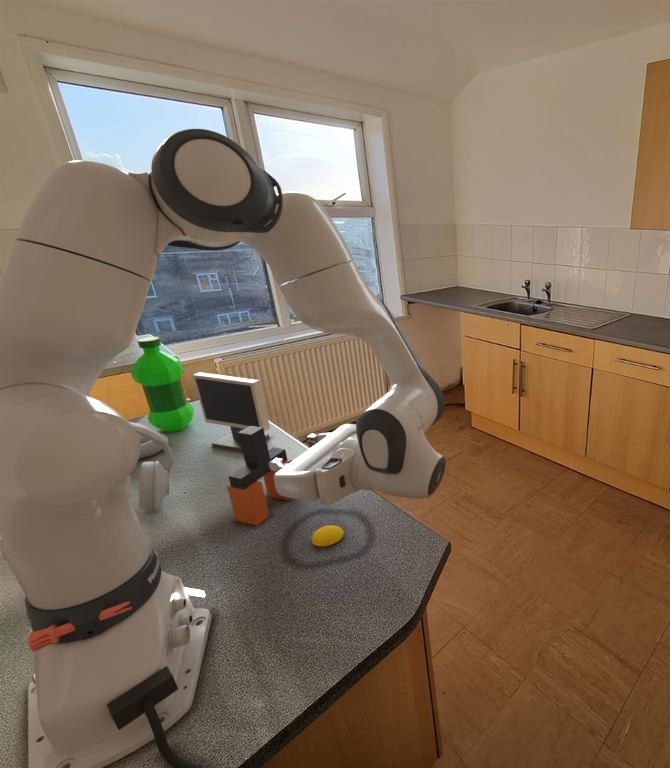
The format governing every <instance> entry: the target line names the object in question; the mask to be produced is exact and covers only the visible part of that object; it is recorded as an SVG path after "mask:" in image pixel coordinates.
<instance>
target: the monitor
mask: <svg viewBox="0 0 670 768" xmlns="http://www.w3.org/2000/svg"><path fill="white" fill-rule="evenodd" d="M192 379H193V382H194V386H195V389H196V393H197V396H198V397H197V398H198V401H199V405H200V407H201V411H202V414H203V418H204V422H205V423H207V424H215V425H219V426H226V427H229V428H230V431H231V432H229V433H227V434H225V435H224V436H222V437H220V438H219V439H217V440H215V441H213V442H211V447H212V448H214V449H220V450H225V451H231V452H236V453H242V454H243V451H242V447H241V443H240V439H239V435H238V432H240V431H242V430H244V429H245V428H247V427H249V426H256V427H262V428H264V433H265V432H266V431H268V430H270V429H271V427H270V422H269V418H268V413H267V408H266V403H265V399H264V395H263V389H262V385H261V381H260V379H254V378H245V377H239V376H230V375H225V374H224V375H223V374H218V373H217V374H216V373H209V372H203V371H202V372H201V371H198V372H196V373H194V374H192ZM265 437H266V441H267V440H269V439H271V438H270V434H269V433H265Z"/></svg>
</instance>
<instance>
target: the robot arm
mask: <svg viewBox="0 0 670 768" xmlns="http://www.w3.org/2000/svg"><path fill="white" fill-rule="evenodd" d="M151 159H152V160H151V165H150V166H151V170H150V171H151V172H148V171H146V172H142V173H135V172H126V171H124V170H122V169H120V168H117V167H114V166H112V165H109V164H105V163H102V162H97V161H92V160H71V161H66V162H64V163H62V164H60V165H58V166H57V167H56V168H55V169H54V170H53V171H52V173H51V174H50V175H49V177H47V178H46V180H45V182H44V183H43V184H42V185H41V187H40V189H39V190H38V192H37V193H36V195H35V197H34V198H33V200H32V202H30V203H31V204H30V205H29V207H28V209H27V211H26V212H25V215H24V217H23V219H22V221H21V223H20V226H19V228H18V231H17V233H16V236H15V238H14V241H13V243H12V247H11V249H10V252H9V254H8V258H7V260H6V263H5V265H4V269H3V271H2V273H1V276H0V536H1V537H0V538H1V539H0V551H1V553H2V555H3V556H4V558H5V561H6V562H7V564H8V566H9V568H10V570H11V572H12V574H13V575H14V577H15V579H16V581H17V582H18V584H19V586H20V588H21V590H22V592H23V593H24V595H25V597H24V605H25V606H24V607H25V610H26V611H25V613H26V618H27V622H28V625H29V626H30V627H31V629H30V630H29V631H28V634H29V635H28V638H27V639H28V647H29V650H30V651H31V652H32V654H33V655H32V656H33V668H34V673H33V674H32V675H33V676H32V678H31V679H32V680H31V681H30V682H29V684H28V685H27V744H28V745H27V768H105V767H107V766H109V765H111V764H113V763H116V762H117V761H119V760H121V759H122V758H124V757H126V756H128V755H130V754H131V753H133V752H135V751H137V750H138V749H140V748H142V747H144V746H146V745H147V744H148V743H150V742H151V741H153V740H154V741H155V744H156V747H157V750H158V752H159V753H160V755H161V757H162V758H163V759H164V760H165V761H166V763H168V765H169V766H171V767H172V768H202V767H201V766H198V765H195V764H193V763H191V762H189V761H186V760H184V759H182V758H181V757H179V756H178V755H177V754H176V753H175V752H174V750H173V749H172V748H171V747H170V745H169V743H168V740H167V736H166V734H165V732H166V731H168V730H169V729H170V728H171V727H172V726H174V725H175V724H176V723H177V722H178V721H179V720H181V718H182V717H184V716H185V715H186V713H188V712H189V710H190V709H191V708H192V705H193V702H194V698H195V693H196V690H197V685H198V681H199V677H200V674H201V673H200V672H201V667H202V663H203V658H204V654H205V649H206V646H207V641H208V637H209V633H210V629H211V625H212V624H211V623H212V620H213V615H212V613H211V611H210V609H208V608H202V607H194V605H193V603H192V601H191V599H190V596H193V597H200V598H205V597H206V593H205V590H201V589H197V588H191V587H185V584H184V583H183V581H182V579H181V577H179V576H177V575H174V574H170V573H168V572H166V571H163V570H162V569H163V568H162V566H161V562H160V557H159V555H158V553H157V551H156V550H155V549H154V547H153V545H152V544H151V543H150V542H148V541H147V539H146V537H145V534H144V531H143V529H142V526H141V523H140V521H139V517H138V515H137V512H136V510H135V507H134V504H133V503H134V502H133V499H132V489H131V474H132V473H133V471H134V470H135V468H136V466H137V464H138V462H139V456H140V449H141V448H140V440H139V436H138V434H137V432H136V430H135V429H134V428H133V426H132V425H131V424H130V423H129V422H130V421H128V420H127V419H126V418H125V417H124V416H123V415H121V414H120V413H119V412H118V411H117V410H115V409H114V408H113V407H112V406H110V405H109V404H108V403H105V402H104V401H101V400H100V399H97V398H94V397H91V396H89V395H90V393H91V390H92V389H93V387H94V385H95V384H96V382H97V380H98V379H99V378H100V376H101V375H102V373H103V372H104V371H105V369H106V367H107V366H108V365H109V364H110V363H111V361H112V360H113V359H114V358H115V357H116V356H118V355H120V354H121V353H123V352H125V350H127V349H128V347H129V346H130V345H131V344H132V342H133V340H134V337H135V334H136V331H137V328H138V325H139V322H140V319H141V315H142V312H143V309H144V306H145V303H146V300H147V296H148V293H149V291H150V287H151V284H152V281H153V278H154V275H155V272H156V268H157V266H158V262H159V259H160V257H161V255H162V253H163V251H164V250H165V248H166V247H167V246H168V247H176V248H184V249H185V248H186V249H193V250H195V249H196V250H199V251H221V250H222V251H223V250H227V249H231V248H233V247H235V246H237V245H239V244H240V243H243V244H244V245H246V246H248V247H250V248H251V249H252V250H254V251H255V252H256V253H257V254H259V256H260V257H261V258H262V259H263V261H264V262H265V263H266V264H267V265H268V266H269V269H270V271H271V273H272V276H273V278H274V279H275V281H276V284H277V286H278V287H279V290H280V292H281V294H282V296H283V297H284V300H285V301H286V303H287V305H288V306H289V308H290V310H291V311H292V313H293V314H294V315H295V316H296V317H297V319H298V320H299V321H300V322H301V323H302V324H304V325H305V326H306V327H309V328H311V329H313V330H315V331H317V332H321V333H325V334H330V335H349V336H353V337H355V338H358V339H361V341H363V342H364V343H366V345H367V346H369V348H370V350H371V351H372V353H373V354H374V356H375V358H376V359H377V361H378V363H379V364H380V365H381V367H382V369H383V371H384V372H385V374H386V376H387V377H388V379H389V382H390V385H389V391H387V392H386V393H385V394H384V395H383V396H381V397H380V398H378V399H377V400H376V401H374V402H373V403H372V404H370V405H369V407H368V408H367V409H365V410H364V412H362V413H361V414H360V415H359V417H358V418H357V420H356V424H355V423H345V424H342V425H340V426H339V427H338V428H336V429H334V430H333V431H332V432H331V431H330V432H322V433H313V432H311V433H310V434H308V436H306V437H305V440H306V444H307V445H309V446H310V445H311V447H310V448H309V449H307V450H305V451H304V452H303V453H301V454H300V455H299V456H298V457H296V458H295V459H293V460H292V462H290V463H289V464H288V463H286V464H285V465H284V464H283V459H278V458H275V459H273V460H272V461H270V462H269V467H270V469H271V470H272V471H276V473H275V474H274V476H273V478H274V485H275V488H276V491H277V493H278V494H279V495H281V496H284V497H288V498H290V499H293V500H300V501H306V502H307V501H308V502H309V501H310V502H311V501H316V500H320V503H321V504H322V505H327V506H328V505H329V506H330V505H333V504H335V503H336V502H338V501H340V500H342V499H343V498H345V497H347V496H349V495H351V494H355V493H357V492H358V491H360V490H362V491H380V492H381V493H383V494H385V495H388V496H394V497H398V498H407V499H426V498H430V497H431V496H432V495H433V494H434V493H435V492H436V491H437V489H438V487H439V486H440V484H441V482H442V480H443V477H444V475H445V471H446V457H445V456H444V455H443V454H441V453H439V452H438V451H436V449H434V447H433V446H432V445H431V443H430V442H429V440H428V438H427V437H426V435H425V434H426V433H427V431H428V430H429V429H430V428H432V427H433V426H434V425H435V424H436V423H438V421H440V420H441V418H442V417H443V415H444V413H445V410H446V399H445V396H444V393H443V390H442V388H441V387H440V385H439V384H438V383H437V382H436V381H435V380H434V379H433V377H432V376H431V375H430V374H429V373H428V372H427V370H426V369H425V368H424V367H423V365H422V364H421V362H420V360H419V358H418V357H417V355H416V353H415V351H414V349H413V348H412V345H411V344H410V343H409V340H408V339H407V338H406V335H405V334H404V332H403V330H402V328H401V326H400V325H399V323H398V321H397V320H396V318H395V317H394V315H393V313H392V312H391V310H390V309H389V308H388V306H387V305H386V304H385V302H384V301H383V300H381V298H379V296H376V294H375V293H374V292H373V291H372V289H371V288H370V286H369V285H368V283H367V282H366V280H365V278H364V277H363V275H362V273H361V272H360V269H359V268H358V265H357V264H356V261H354V257H353V255H352V253H351V251H350V248H349V247H348V245H347V242H346V241H345V239H344V238H343V236H342V233H341V232H340V230H339V229H338V227H337V226H336V224H335V222H334V221H333V220H332V218H331V217H330V215H329V213H328V212H327V211H326V209H325V208H324V206H323V205H322V204H321V202H320V201H318V200H317V199H316V198H315V197H313V196H311V195H310V194H307V193H303V192H300V191H299V192H296V191H286V192H285V191H284V192H283V190H282V187H281V184H280V183H279V182H278V181H277V179H276V178H274V177H273V176H272V175H271V174H270V173H268V172H267V171H266V170H265V169H263V168H262V166H260V164H259V163H258V162H257V161H256V160H255V159H254V157H253V156H252V155H251V154H250V153H249V152H247V151H246V150H245V149H244V148H243V147H242V146H241V145H239V144H238V143H237V142H235V141H234V140H233V139H231V138H229V136H228V137H227V136H226V135H224V134H222V133H219V132H216V131H213V130H210V129H205V128H190V129H189V128H188V129H183V130H179V131H177V132H175V133H172V134H171V135H170V136H167V138H165V139H164V140H162V142H161V143H160V145H159V146H158V147H157V148H156V150H155V152H154V154H153V156H152V158H151ZM275 187H276V189H275ZM276 191H277V193H276Z"/></svg>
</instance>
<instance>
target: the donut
mask: <svg viewBox="0 0 670 768" xmlns="http://www.w3.org/2000/svg"><path fill="white" fill-rule="evenodd" d="M157 432H158V431H157ZM158 433H159V434H160V435H162V436H163V437H164V438H165V439H166V440H167V442H168V443H169V439H168V437H167V435H166V434H165V433H162V432H158ZM138 436H139V440H140V448H141V449H140V456H139V459H144V458H148V457H151V456H154V455H156V454H158V453H160V452H162V451H164V449H163V448H162V447H161V446H159V445H158V444H157V443H155V442H153V441H152V440H150V439H148V438H146V437H144V436H141V435H138ZM139 459H138V460H139Z"/></svg>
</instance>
